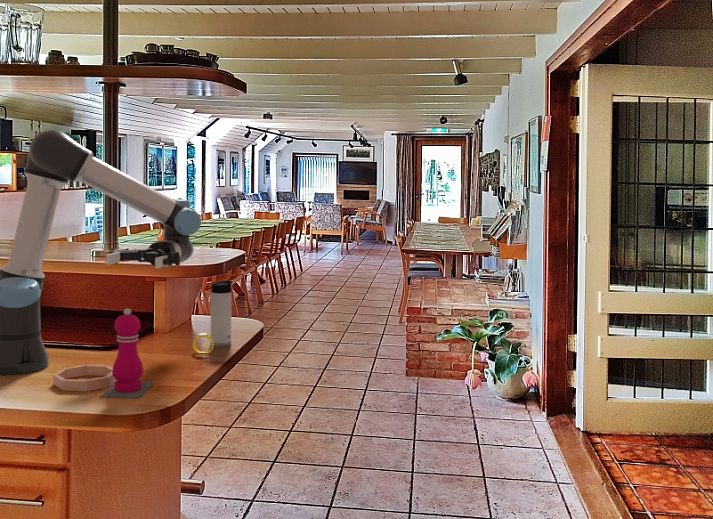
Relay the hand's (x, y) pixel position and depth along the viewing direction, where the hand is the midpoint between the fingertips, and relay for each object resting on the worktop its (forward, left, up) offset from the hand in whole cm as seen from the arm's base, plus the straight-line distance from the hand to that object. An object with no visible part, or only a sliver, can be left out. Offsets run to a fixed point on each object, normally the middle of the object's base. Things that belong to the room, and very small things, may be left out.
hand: (131, 261), depth 185 cm
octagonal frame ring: (-8, -12, -30) cm, 33 cm away
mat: (+5, -17, -30) cm, 34 cm away
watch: (+14, +20, -30) cm, 39 cm away
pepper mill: (+5, -17, -29) cm, 34 cm away
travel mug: (+17, +31, -30) cm, 46 cm away
